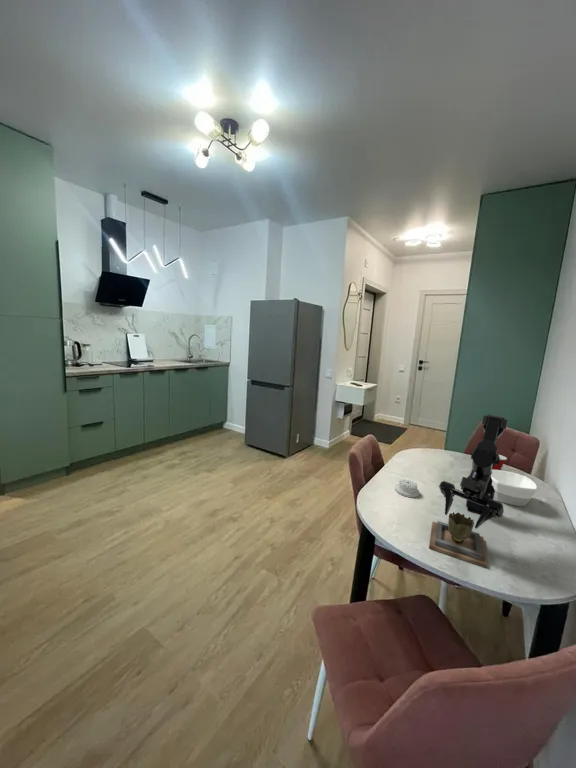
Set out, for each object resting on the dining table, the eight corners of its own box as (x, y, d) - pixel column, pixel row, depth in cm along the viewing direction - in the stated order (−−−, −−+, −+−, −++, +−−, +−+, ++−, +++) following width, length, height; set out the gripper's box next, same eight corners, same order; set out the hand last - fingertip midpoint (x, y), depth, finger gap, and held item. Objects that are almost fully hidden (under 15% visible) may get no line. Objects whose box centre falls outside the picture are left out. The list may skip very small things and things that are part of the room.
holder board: (482, 539, 113) (484, 532, 113) (486, 568, 99) (488, 560, 99) (432, 523, 120) (433, 517, 120) (428, 548, 106) (430, 541, 106)
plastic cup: (504, 478, 168) (509, 455, 166) (500, 484, 160) (505, 460, 158) (480, 470, 175) (484, 448, 173) (475, 476, 167) (479, 453, 165)
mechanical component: (391, 491, 142) (414, 500, 137) (392, 482, 142) (416, 490, 136) (399, 484, 150) (421, 492, 145) (400, 475, 150) (423, 483, 144)
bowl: (539, 514, 135) (544, 492, 133) (489, 503, 140) (493, 482, 138) (524, 494, 151) (528, 475, 150) (480, 485, 157) (484, 466, 155)
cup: (440, 537, 111) (444, 515, 109) (451, 531, 115) (456, 509, 114) (462, 550, 105) (467, 527, 103) (474, 543, 109) (478, 521, 108)
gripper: (446, 458, 115) (426, 497, 109) (508, 479, 102) (490, 525, 96) (451, 474, 122) (433, 511, 116) (510, 496, 109) (493, 539, 103)
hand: (460, 521), depth 108 cm, fingers open, 9 cm apart
